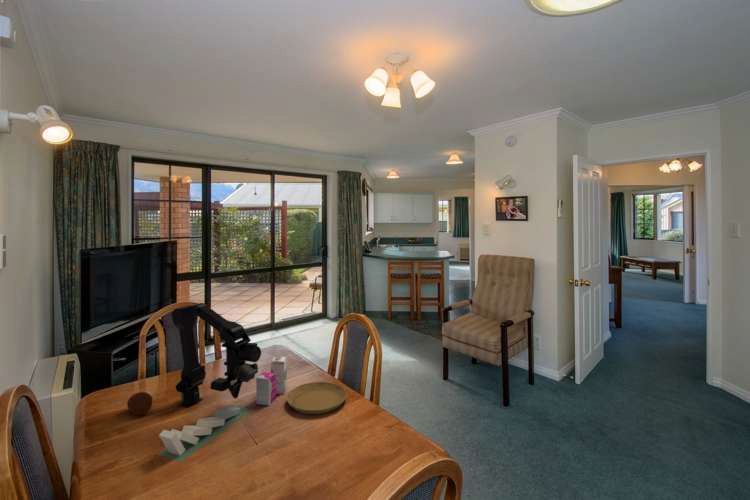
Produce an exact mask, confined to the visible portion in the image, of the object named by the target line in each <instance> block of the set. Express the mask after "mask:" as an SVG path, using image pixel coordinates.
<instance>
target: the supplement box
mask: <svg viewBox="0 0 750 500" xmlns="http://www.w3.org/2000/svg"><path fill="white" fill-rule="evenodd" d="M255 384H256V390H255V391H256V392H255V393H256V396H255V397H256V401H255V402H256V404H255V405H256V406H265V407H270V406H271V405H272V404H273V403H274V402H275V401H276V395H277V394H276V374H275V373H271V372H265V371H264V372H262V373H260V374H259V375H258V376H257V377H256V383H255Z"/></svg>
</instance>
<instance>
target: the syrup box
mask: <svg viewBox="0 0 750 500" xmlns="http://www.w3.org/2000/svg"><path fill="white" fill-rule="evenodd" d="M287 363H288V359H287V356H274V357H273V358H272V360H271V362H270V373H275V374H276V395H284V394H286V390H287V387H288V384H287V382H288V377H287V376H288V374H287V373H288V364H287Z"/></svg>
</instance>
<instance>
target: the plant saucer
mask: <svg viewBox="0 0 750 500" xmlns="http://www.w3.org/2000/svg"><path fill="white" fill-rule="evenodd" d="M347 396H348V395H347V390H346V389H345V387H343V386H342V385H340V384H337V383H333V382H326V381H314V382H308V383H304V384H301V385H298V386H296V387H294V388H292V389H291V390H290V391H289V392H288V393H287V395H286V401H287V404H288V405H289V406H290V407H291V408H292V409H294V410H295V411H297V412H300V413H302V414H306V415H322V414H326V413H329V412H331V411H333V410H336V409H338V408H339V407H340V406H341V405H342V404H343V403H344V401H345V400H346V399H347Z"/></svg>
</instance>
